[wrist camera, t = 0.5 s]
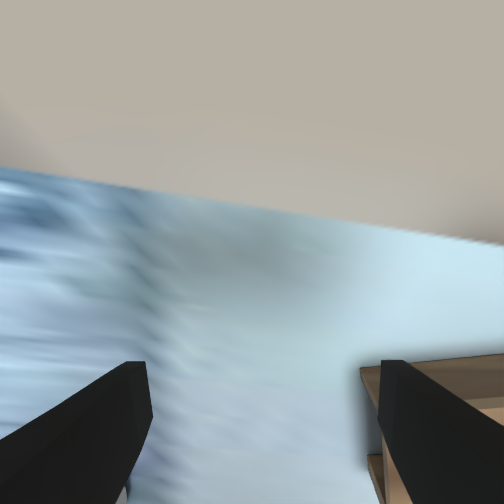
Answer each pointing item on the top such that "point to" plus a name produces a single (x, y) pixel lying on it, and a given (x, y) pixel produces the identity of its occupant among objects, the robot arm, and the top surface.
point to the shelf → (456, 381)
